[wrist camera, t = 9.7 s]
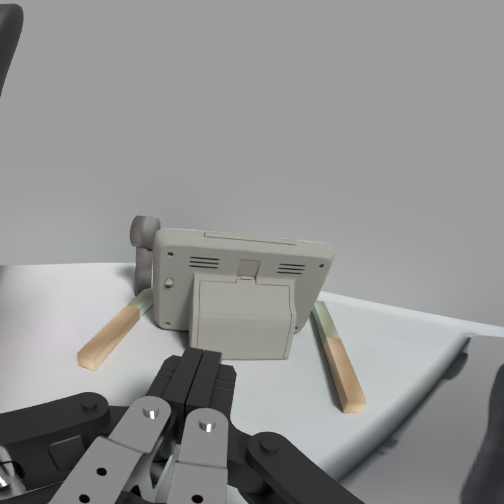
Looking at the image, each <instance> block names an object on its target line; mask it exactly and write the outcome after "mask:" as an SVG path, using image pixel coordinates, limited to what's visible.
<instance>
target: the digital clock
mask: <svg viewBox="0 0 504 504" xmlns="http://www.w3.org/2000/svg"><path fill="white" fill-rule="evenodd" d="M333 258H334V250H333V248H332V247H331V246H330V245H328V244H325V243H320V242H313V241H306V240H297V239H287V238H277V237H267V236H257V235H247V234H236V233H225V232H215V231H204V230H192V229H177V228H165V229H160V230H158V231H157V232H156V233H155V236H154V243H153V315H154V320H155V322H156V323H157V324H158V325H159V326H160V327H162V328H164V329H170V330H183V331H188V332H189V347H194V348H199V349H204V351H205V350H210V351H216V352H222V360H277V359H288V356H289V352H290V348H291V344H292V339H293V335H294V333H297V332H299V331H301V329H302V328H303V327H304V325H305V324H306V321H307V319H308V317H309V315H310V313H311V311H312V308H313V306H314V304H315V302H316V300H317V297H318V295H319V293H320V291H321V288H322V286H323V283H324V281H325V279H326V277H327V274H328V272H329V270H330V267H331V264H332V262H333Z"/></svg>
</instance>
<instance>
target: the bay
mask: <svg viewBox="0 0 504 504" xmlns="http://www.w3.org/2000/svg"><path fill="white" fill-rule="evenodd" d="M158 230H160V221H159V219H158V218H153V217H145V216H136V217H135V218H134V220H133V222H132V225H131V229H130V241H131V244H132V246H135V247H136V273H135V296H136V297H135V298H134V299H133V300H132V301H131V302H130V303H129V304H128V305H127V306H126V307H125V308H124V309H123V310H121V311H120V312H119V313H118V314H117V315H116V316H115V317H114V318H113V319H112V320H111V321H110V322H109V323H108V324H107V325H106V326H105V327H104V328H103V329H102V330H100V331H99V332H98V333H97V334H96V335H95V336H94V337H93V338H92V339H91V340H90V341H89V342H88V343H87V344H86V345H85V346H84V347H83V348H82V349H81V350H80V351H79V352H78V353H77V355H78V361H79V366H82V367H85V368H88V369H91V370H94V371H95V370H96V369H97V368H98V367H99V365H100V364H101V363H102V362H103V361H104V359H105V358H106V357H107V356H108V355H109V354H110V352H111V351H112V350H113V349H114V348H115V347H116V345H117V344H118V343H119V342H120V341H121V340H122V338H123V337H124V336H125V335H126V334H127V333H128V332H129V330H130V329H131V328H132V327H133V326H134V325H135V324H136V322H137V321H138V320H139V319H140V318H141V317H142V316H143V315H144V313H145V312H146V311H147V310H148V309H149V308H150V307H151V306H152V304H153V282H152V283H151V281H152V258H153V243H154V236H155V233H156V232H157V231H158ZM312 314H313V317H314V320H315V323H316V326H317V329H318V332H319V335H320V338H321V341H322V345H323V348H324V351H325V354H326V357H327V360H328V364H329V367H330V370H331V373H332V377H333V380H334V383H335V387H336V390H337V393H338V397H339V400H340V403H341V407H342V410H343V413H361V412H362V410H363V408H364V406H365V404H366V399H365V396H364V394H363V391H362V389H361V386H360V384H359V382H358V379H357V377H356V374H355V372H354V370H353V367H352V365H351V362H350V360H349V358H348V355H347V353H346V351H345V348H344V346H343V344H342V341H341V339H340V337H339V335H338V332H337V330H336V328H335V326H334V323H333V321H332V319H331V316H330V314H329V312H328V310H327V308H326V305H325V303H324V302H323V301H316V302H315V304H314V306H313V308H312Z"/></svg>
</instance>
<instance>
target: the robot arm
mask: <svg viewBox="0 0 504 504" xmlns="http://www.w3.org/2000/svg"><path fill="white" fill-rule="evenodd" d="M22 26H23V10H22V8H21V7H20V6H19V5H17V4H0V96H1V92H2V88H3V85H4V81H5V78H6V75H7V72H8V69H9V66H10V63H11V61H12V58H13V55H14V52H15V49H16V47H17V44H18V41H19V37H20V34H21V31H22ZM221 361H222V352H216V351H210V350H205V351H204V349H199V348H194V347H189V346H187V347H186V349H185V351H184V353H183V355H182V357H180V356H175V355H172V356H171V357H169V358H168V359H166V360H165V361H164V363H163V364H162V366H161V369H160V370H159V372H158V374H157V376H156V377H155V379H154V381H153V383H152V385H151V387H150V388H149V390H148V392H147V394H146V396H144V397H141V398H138V399H136V400H135V401H134V402H133V403H132V404H131V406H127V407H121V406H108V402H107V400H106V399H105V398H104V397H103V396H102V395H100V394H97V393H93V392H84V393H80V394H77V395H73V396H70V397H66V398H62V399H59V400H55V401H51V402H48V403H44V404H40V405H36V406H32V407H28V408H24V409H19V410H15V411H11V412H6V413H1V414H0V504H227V484H228V485H230V486H233V487H235V488H238V491H239V493H240V494H241V496H242V497H243V498H244V499H245V500H246V501H247V503H248V504H365V503H364V502H362V501H361V500H359V499H358V498H357V497H355V496H354V495H353V494H352V493H350V492H349V491H348V490H346V489H345V488H344V487H343V486H341V485H340V484H339V483H337V482H336V481H335V480H334V479H333V478H331V477H330V476H329V475H328V474H326V473H325V472H324V471H323V470H322V469H320V468H319V467H318V466H317V465H316V464H315V463H313V462H312V461H311V460H310V459H309V458H308V457H306V456H305V455H304V454H303V453H302V452H301V451H300V450H298V449H297V448H296V447H295V446H294V445H293V444H292V443H291V442H290V441H289V440H287V439H286V438H285V437H284V436H282V435H280V434H277V433H274V432H260V433H257V434H255V435H253V436H251V435H248V434H246V433H243V432H241V431H240V430H238V429H237V428H236V427H235V426H234V425H233V424H232V422H231V420H230V413H231V407H232V401H233V394H234V388H235V381H236V375H237V374H236V372H235V370H234V368H233V366H230V365H223V364H221ZM78 435H80V437H78V438H75V439H72V440H69V441H66V442H63V443H59V444H56V445H52V446H49V445H50V444H52V443H55V442H59V441H62V440H65V439H68V438H72V437H75V436H78ZM176 444H179V445H181V447H180V452H179V457H178V461H176V462H175V465H174V469H173V474H172V479H171V484H170V489H169V494H168V499H167V503H155V501H156V495H157V493H158V490H159V488H160V486H161V483H162V481H163V479H164V477H165V474H166V472H167V470H168V468H169V465H170V463H171V461H172V458H173V452H174V449H175V446H176ZM64 480H65V481H64ZM61 481H64V482H61ZM58 482H60V483H58ZM54 483H57V484H54ZM51 484H53V485H51ZM48 485H51V486H48ZM44 486H48V487H44ZM41 487H44V488H41ZM37 488H41V489H38V490H35V491H32V492H28V493H25V491H29V490H33V489H37Z"/></svg>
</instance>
